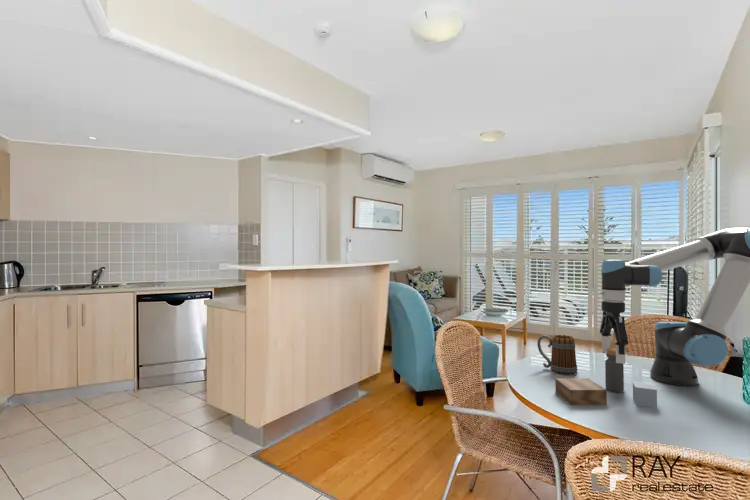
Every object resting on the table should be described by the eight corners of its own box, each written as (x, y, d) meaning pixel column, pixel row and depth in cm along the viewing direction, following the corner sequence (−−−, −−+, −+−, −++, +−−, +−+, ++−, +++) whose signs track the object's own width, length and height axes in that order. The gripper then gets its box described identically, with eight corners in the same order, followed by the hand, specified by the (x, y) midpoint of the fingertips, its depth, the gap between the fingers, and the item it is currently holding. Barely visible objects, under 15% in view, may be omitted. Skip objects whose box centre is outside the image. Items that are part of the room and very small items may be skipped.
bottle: (626, 393, 142) (626, 351, 142) (609, 392, 143) (608, 351, 144) (620, 387, 148) (619, 347, 148) (603, 386, 149) (602, 347, 149)
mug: (578, 370, 170) (578, 335, 170) (576, 377, 161) (575, 340, 161) (540, 365, 178) (539, 332, 178) (535, 371, 169) (535, 336, 169)
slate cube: (653, 401, 134) (653, 384, 134) (657, 408, 129) (656, 389, 129) (633, 398, 137) (632, 381, 137) (635, 405, 132) (635, 387, 132)
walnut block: (588, 391, 144) (588, 378, 144) (606, 404, 132) (606, 389, 132) (555, 392, 144) (555, 378, 144) (570, 404, 132) (570, 390, 132)
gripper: (590, 296, 159) (590, 349, 159) (615, 305, 134) (615, 367, 134) (611, 297, 157) (611, 350, 157) (639, 306, 133) (639, 368, 133)
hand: (613, 358), depth 146 cm, fingers open, 13 cm apart
